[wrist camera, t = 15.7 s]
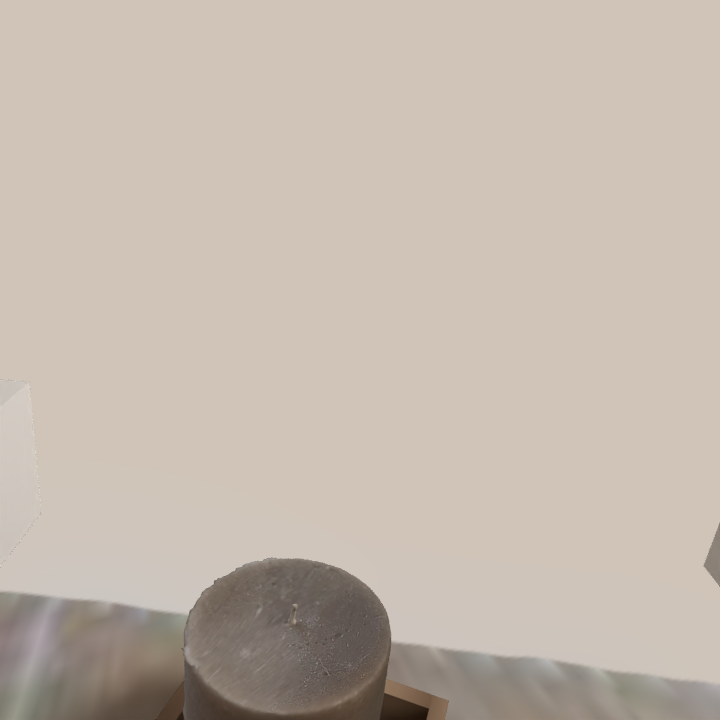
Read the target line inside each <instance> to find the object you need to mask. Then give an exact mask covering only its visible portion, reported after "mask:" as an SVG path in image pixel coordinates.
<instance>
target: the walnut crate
mask: <svg viewBox="0 0 720 720" xmlns="http://www.w3.org/2000/svg"><path fill="white" fill-rule="evenodd" d="M184 681H185V680H184ZM184 681H183V683H182V684H181V685H180V687H179V688H178V690H177V691H176V692H175V694H174V695H173V697H172V698H171V699H170V701H169V702H168V703H167V705H166V706H165V708H164V709H163V710H162V712H161V713H160V715H159V716H158V717H157V719H156V720H184V715H183V708H184V702H185V691H184ZM448 703H449V701H448V700H445V699H442V698H439V697H437V696H434V695H431V694H428V693H425V692H422V691H419V690H416V689H414V688H411V687H408V686H405V685H402V684H399V683H396V682H393V681H391V680H388V679H386V684H385V691H384V697H383V703H382V709H381V714H380V720H445V716H446V712H447V707H448Z"/></svg>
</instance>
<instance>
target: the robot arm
mask: <svg viewBox="0 0 720 720" xmlns="http://www.w3.org/2000/svg"><path fill="white" fill-rule="evenodd" d="M40 515H41V506H40V494H39V483H38V472H37V462H36V451H35V440H34V429H33V417H32V407H31V395H30V384H29V382H23V381H12V380H1V379H0V567H1V566H2V565H3V563H4V562H5V561H6V559H7V558H8V557H9V555H10V554H11V553H12V552H13V550H14V549H15V548H16V546H17V545H18V543H19V542H20V541H21V540H22V538H23V537H24V536H25V535H26V533H27V532H28V531H29V529H30V528H31V526H32V525H33V524H34V523H35V522H36V520H37V519H38V518H39V516H40ZM704 567H705V568H706V569H707V571H708V572H709V573H710V574H711V576H712V577H713V578H714V580H715V581H716V582H717V583H718V585H719V586H720V524H719V526H718V529H717V532H716V534H715V537H714V540H713V542H712V545H711V548H710V550H709V553H708V556H707V558H706V561H705V563H704Z"/></svg>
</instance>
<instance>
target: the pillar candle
mask: <svg viewBox="0 0 720 720" xmlns="http://www.w3.org/2000/svg"><path fill="white" fill-rule="evenodd" d="M181 649H182V650H183V651H184V654H183V655H184V658H185V661H184V664H185V681H184V691H185V702H184V708H183V715H184V720H380V714H381V709H382V703H383V697H384V691H385V684H386V676H387V668H388V662H389V656H390V649H391V631H390V625H389V619H388V616H387V612H386V610H385V608H384V606H383V604H382V603H381V602H380V600H379V598H378V597H377V596H376V595H375V594H374V592H373V591H372V590H371V589H370V588H369V587H368V586H367V585H366V584H364V583H363V582H362V581H360V580H359V579H358V578H356V577H355V576H353V575H351V574H349V573H348V572H346V571H344V570H342V569H340V568H337V567H334V566H331V565H327V564H325V563H321V562H316V561H310V560H304V559H277V558H267V559H264V560H263V561H255V562H251V563H248V564H245V565H243V567H240V568H236V570H235V571H234V572H231V573H230V574H229V575H226V576H224V577H222V578H218V579H217V580H215V581H214V585H212V586H211V587H209V588H207V589H205V590H204V591H203V592H202V594H201V596H200V598H199V599H198V600H197V602H196V604H195V606H194V607H193V609H191V610H190V612H189V617H188V620H187V622H186V627H185V630H184V648H181Z"/></svg>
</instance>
